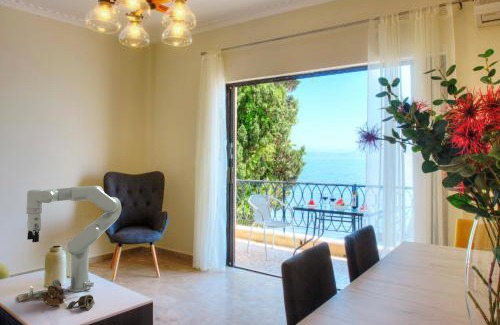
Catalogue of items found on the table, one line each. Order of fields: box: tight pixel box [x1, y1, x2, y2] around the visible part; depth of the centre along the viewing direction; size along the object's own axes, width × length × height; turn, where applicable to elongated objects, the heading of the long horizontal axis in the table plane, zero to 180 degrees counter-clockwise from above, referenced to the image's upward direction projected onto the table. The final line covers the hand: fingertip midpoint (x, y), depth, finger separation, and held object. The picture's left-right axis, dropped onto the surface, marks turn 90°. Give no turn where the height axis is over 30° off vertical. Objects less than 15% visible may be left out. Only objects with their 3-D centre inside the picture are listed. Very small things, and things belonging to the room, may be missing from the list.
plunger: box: [29, 285, 34, 297], centre depth 195 cm, size 1×8×4 cm, turn 37°
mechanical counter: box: [67, 294, 95, 311], centre depth 183 cm, size 7×13×10 cm
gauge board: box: [17, 279, 62, 303], centre depth 199 cm, size 20×10×6 cm, turn 127°
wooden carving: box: [41, 284, 67, 307], centre depth 186 cm, size 16×5×10 cm, turn 70°
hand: (33, 240), depth 206 cm, fingers open, 9 cm apart
